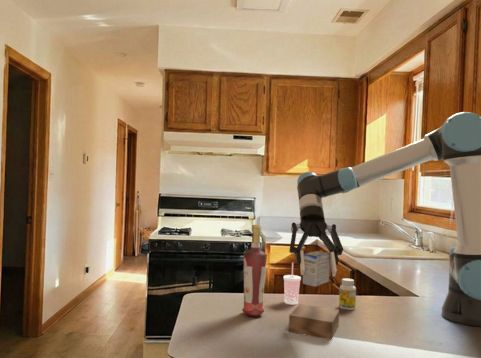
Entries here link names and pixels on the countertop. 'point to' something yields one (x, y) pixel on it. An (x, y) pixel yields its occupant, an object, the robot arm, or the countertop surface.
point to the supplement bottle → (347, 294)
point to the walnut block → (314, 321)
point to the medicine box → (316, 268)
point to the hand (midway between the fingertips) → (318, 273)
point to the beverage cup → (291, 288)
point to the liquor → (254, 276)
